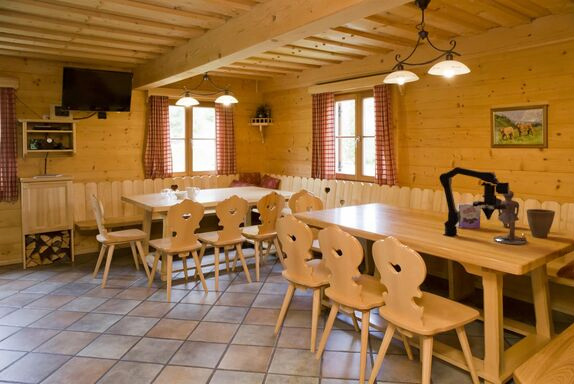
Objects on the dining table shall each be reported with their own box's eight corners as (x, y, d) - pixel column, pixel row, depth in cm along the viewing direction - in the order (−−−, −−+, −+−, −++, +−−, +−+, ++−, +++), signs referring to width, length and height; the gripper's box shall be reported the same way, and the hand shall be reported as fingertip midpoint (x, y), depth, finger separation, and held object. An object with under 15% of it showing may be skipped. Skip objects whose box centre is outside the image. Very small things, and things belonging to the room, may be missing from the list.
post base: (487, 240, 250) (487, 232, 249) (506, 237, 258) (506, 229, 257) (513, 246, 235) (514, 237, 234) (533, 242, 243) (533, 234, 242)
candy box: (458, 228, 286) (459, 204, 284) (456, 226, 292) (457, 203, 290) (480, 228, 284) (480, 204, 282) (477, 227, 289) (478, 203, 287)
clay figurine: (519, 226, 287) (520, 190, 285) (518, 229, 279) (520, 191, 276) (497, 225, 294) (499, 189, 291) (496, 227, 285) (497, 190, 283)
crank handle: (505, 241, 239) (506, 221, 238) (499, 236, 251) (500, 217, 250) (529, 241, 236) (530, 222, 235) (522, 236, 249) (523, 218, 247)
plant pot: (559, 238, 251) (561, 211, 249) (537, 240, 249) (538, 213, 247) (541, 233, 266) (542, 208, 264) (519, 234, 263) (520, 209, 261)
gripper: (512, 194, 245) (511, 220, 246) (484, 191, 261) (484, 216, 263) (500, 195, 240) (499, 222, 241) (472, 192, 256) (471, 217, 258)
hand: (488, 219), depth 251 cm, fingers closed
